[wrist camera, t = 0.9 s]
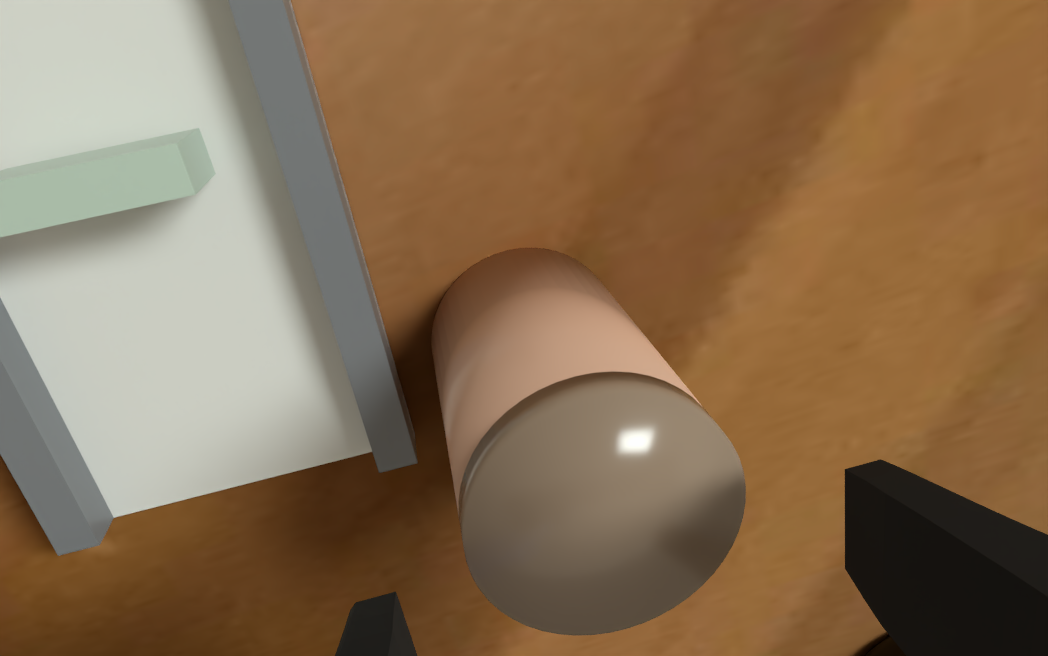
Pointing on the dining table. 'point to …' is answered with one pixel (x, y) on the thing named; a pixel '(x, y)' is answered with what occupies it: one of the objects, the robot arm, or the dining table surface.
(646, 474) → the terracotta jar
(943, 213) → the dining table surface
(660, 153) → the dining table surface
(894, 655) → the supplement bottle
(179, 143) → the plate
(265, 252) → the pusher lane
